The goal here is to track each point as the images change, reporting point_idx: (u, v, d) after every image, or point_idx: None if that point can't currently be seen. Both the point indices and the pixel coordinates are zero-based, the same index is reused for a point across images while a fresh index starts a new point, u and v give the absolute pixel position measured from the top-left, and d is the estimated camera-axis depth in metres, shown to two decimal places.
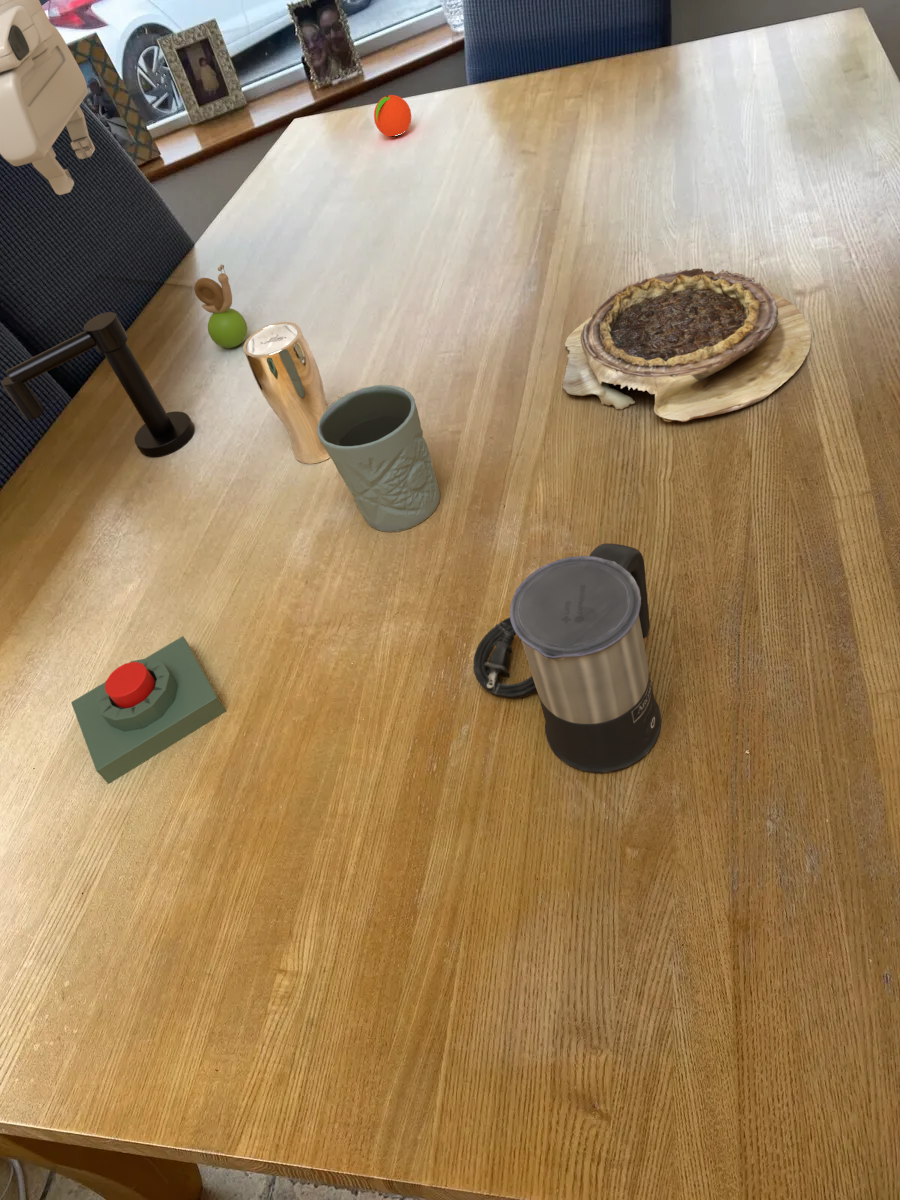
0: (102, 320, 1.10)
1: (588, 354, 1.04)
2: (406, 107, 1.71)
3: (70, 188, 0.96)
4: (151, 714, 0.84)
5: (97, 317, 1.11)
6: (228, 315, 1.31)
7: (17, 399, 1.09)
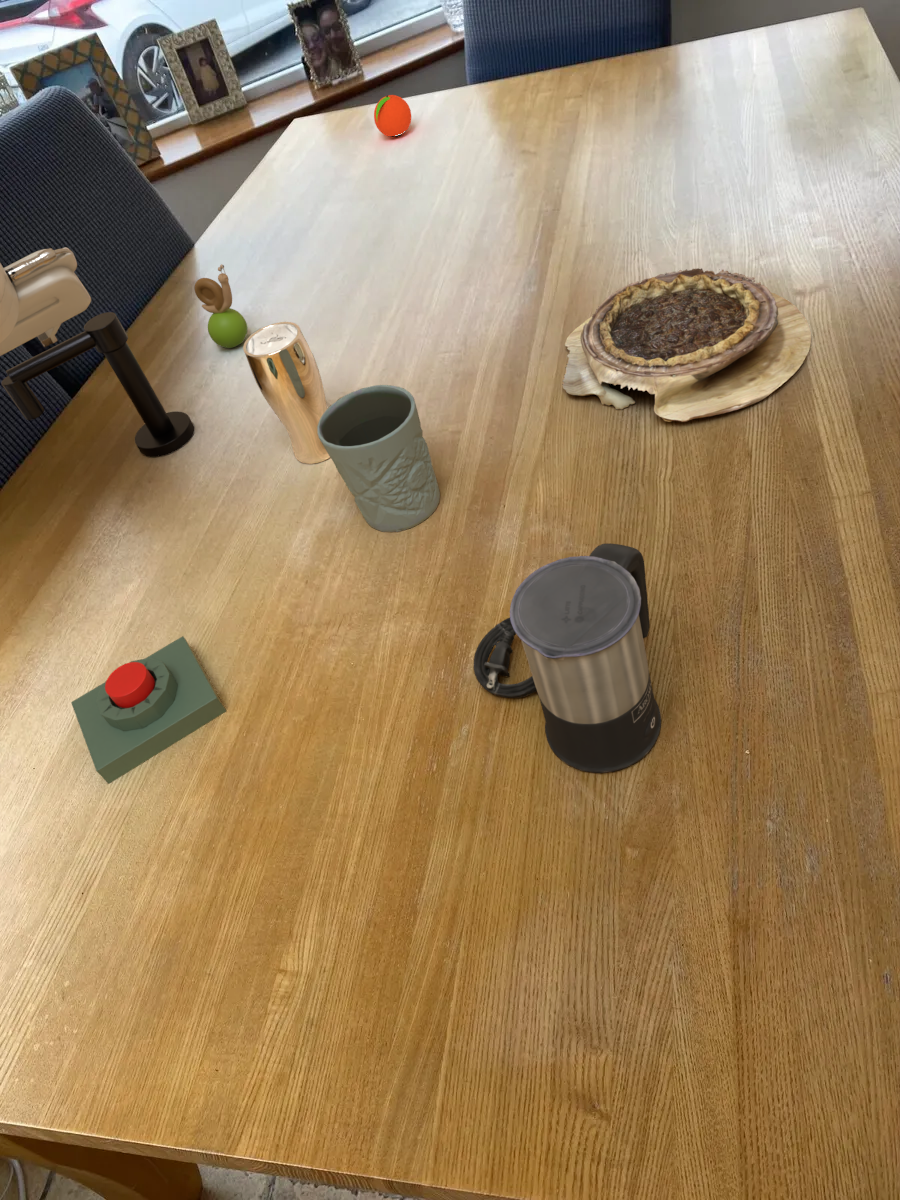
0: (102, 320, 1.10)
1: (588, 354, 1.04)
2: (406, 107, 1.71)
3: None
4: (151, 714, 0.84)
5: (97, 317, 1.11)
6: (228, 315, 1.31)
7: (17, 399, 1.09)
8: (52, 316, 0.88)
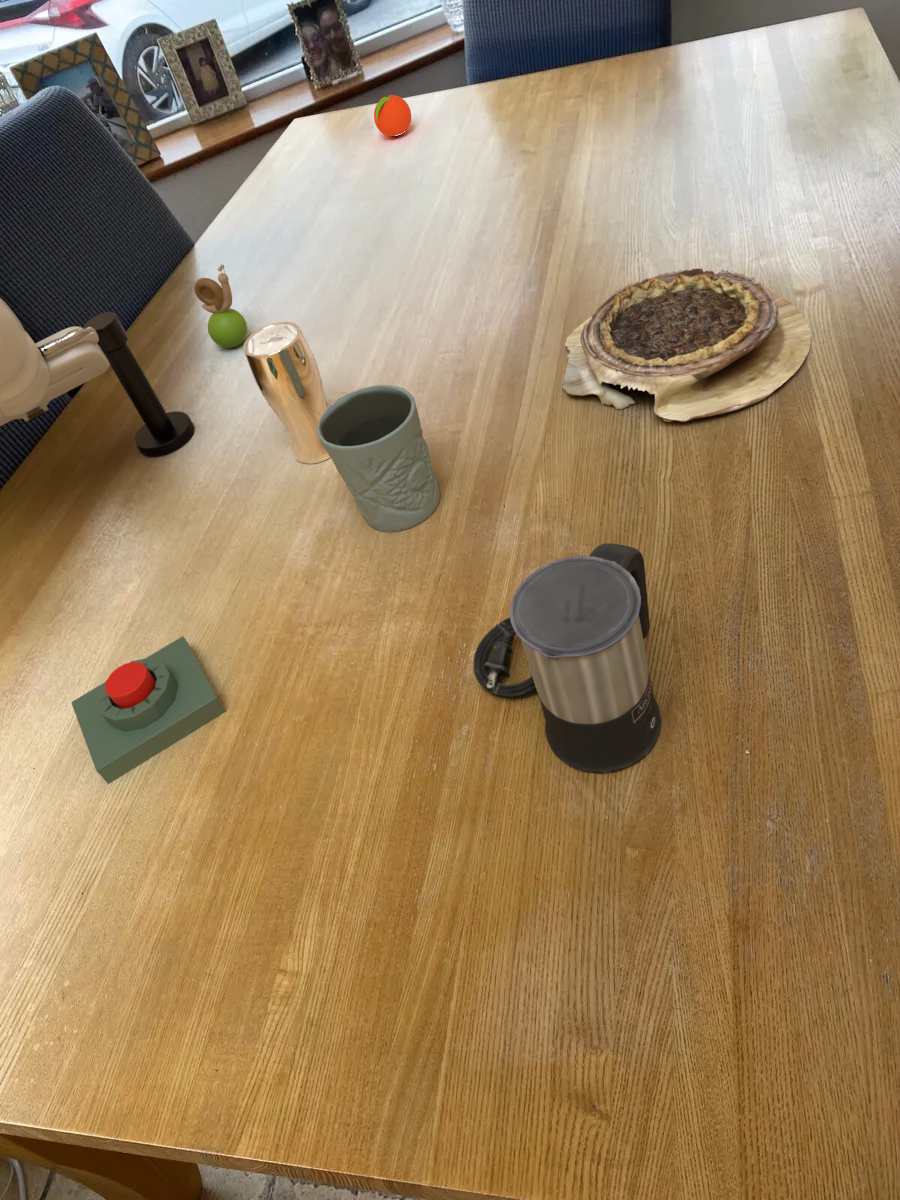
0: (102, 320, 1.10)
1: (588, 354, 1.04)
2: (406, 107, 1.71)
3: (26, 420, 1.09)
4: (151, 714, 0.84)
5: (97, 317, 1.11)
6: (229, 315, 1.31)
7: None
8: (76, 379, 1.04)
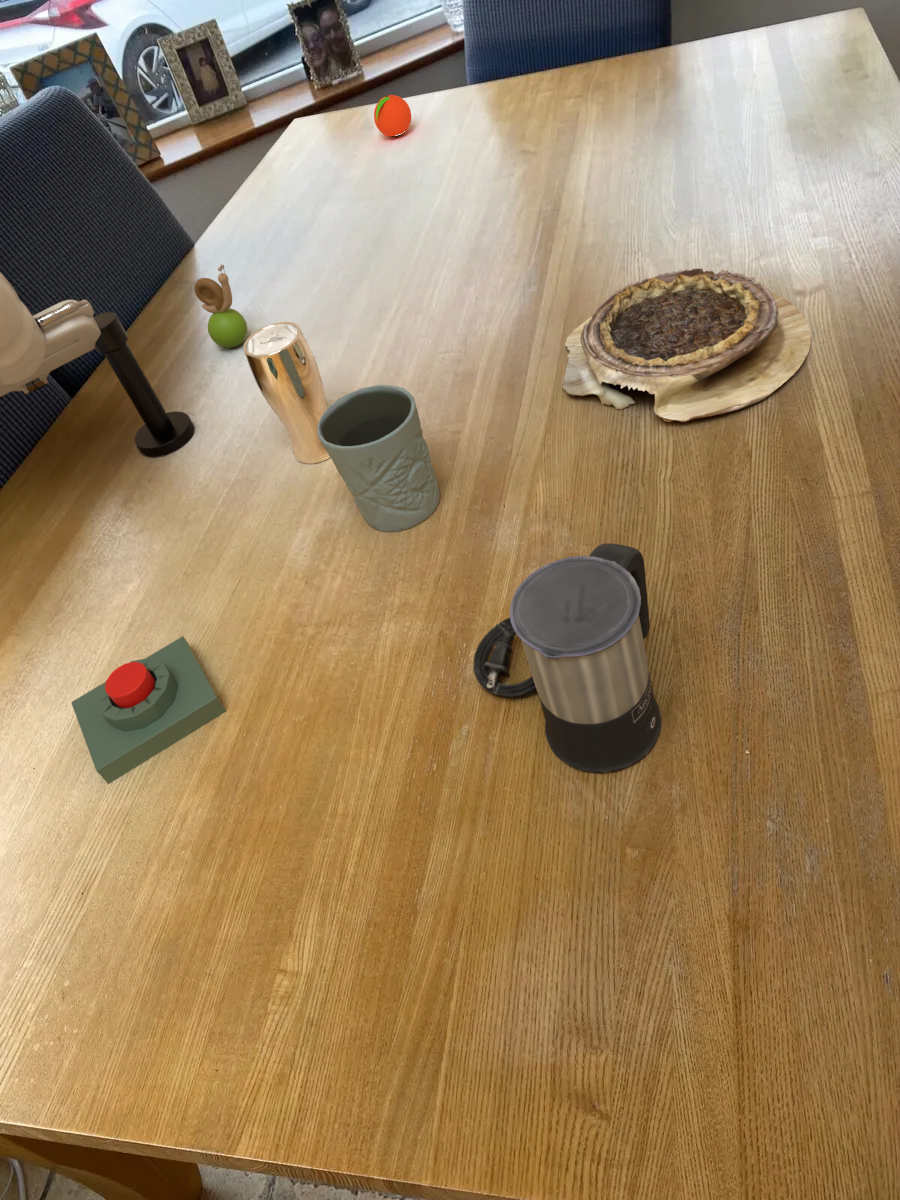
0: (101, 321, 1.10)
1: (588, 354, 1.04)
2: (406, 107, 1.71)
3: (25, 393, 1.14)
4: (151, 714, 0.84)
5: (103, 315, 1.11)
6: (228, 315, 1.31)
7: None
8: (73, 351, 1.09)
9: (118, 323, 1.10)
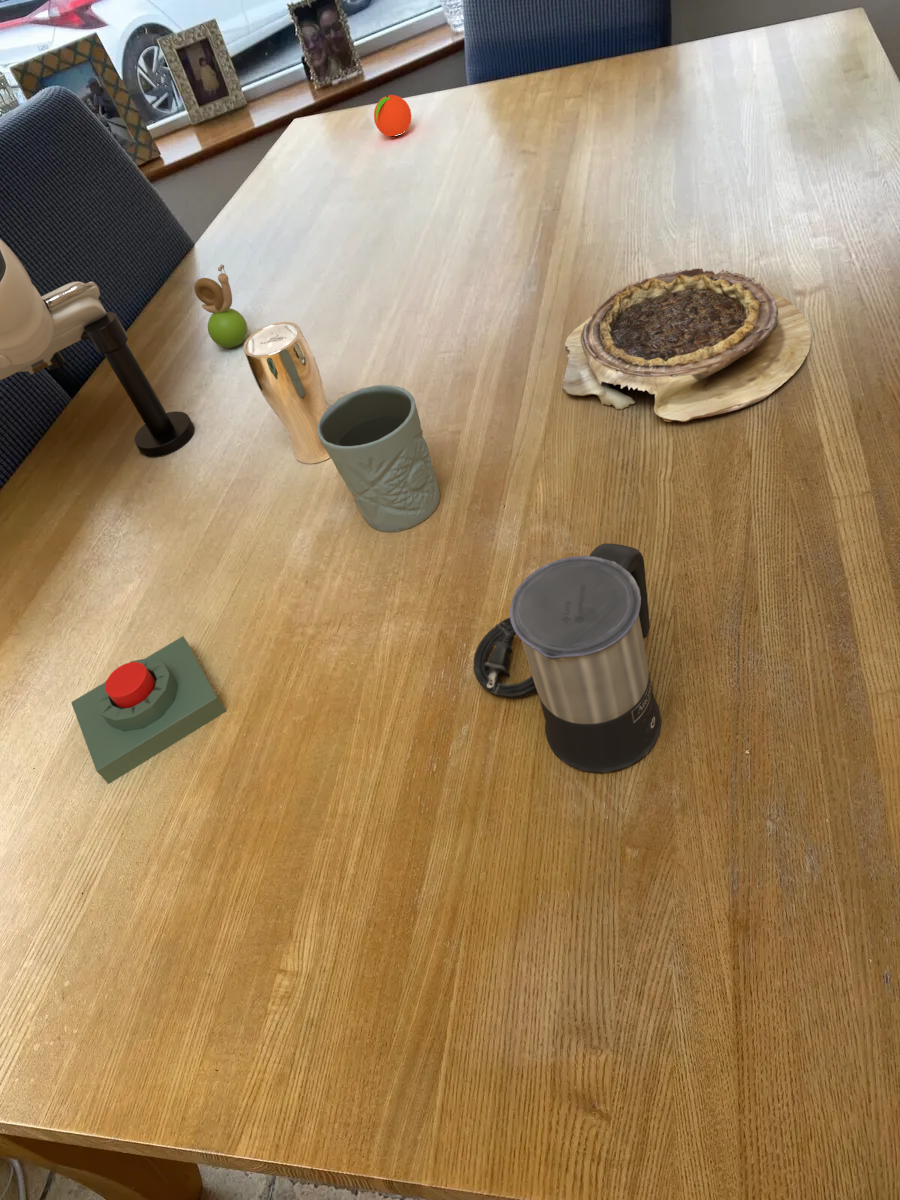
0: (100, 322, 1.10)
1: (588, 354, 1.04)
2: (406, 107, 1.71)
3: (31, 374, 1.16)
4: (151, 714, 0.84)
5: (107, 315, 1.11)
6: (229, 315, 1.31)
7: None
8: (78, 333, 1.11)
9: (115, 326, 1.10)
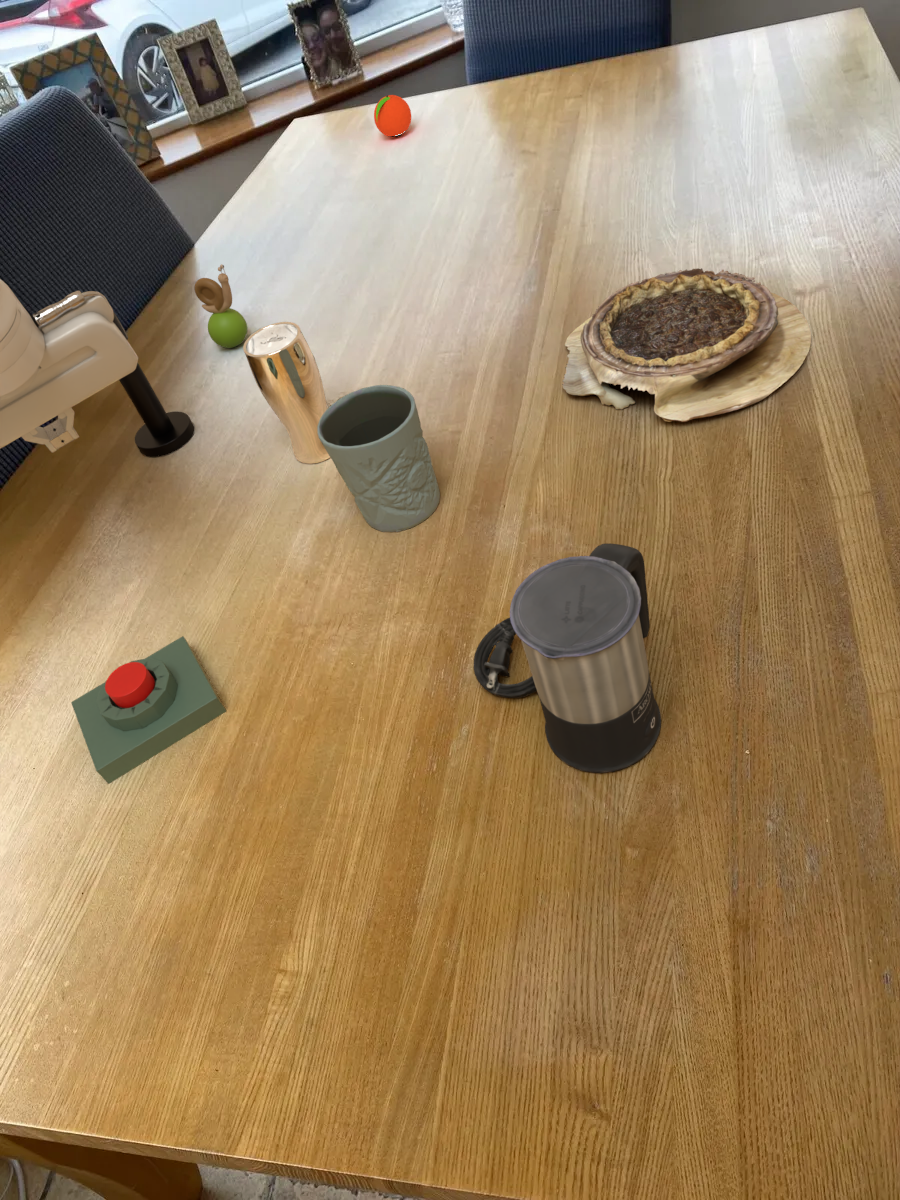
0: None
1: (588, 354, 1.04)
2: (406, 107, 1.71)
3: (52, 451, 0.88)
4: (151, 714, 0.84)
5: None
6: (228, 315, 1.31)
7: None
8: (94, 373, 0.83)
9: None
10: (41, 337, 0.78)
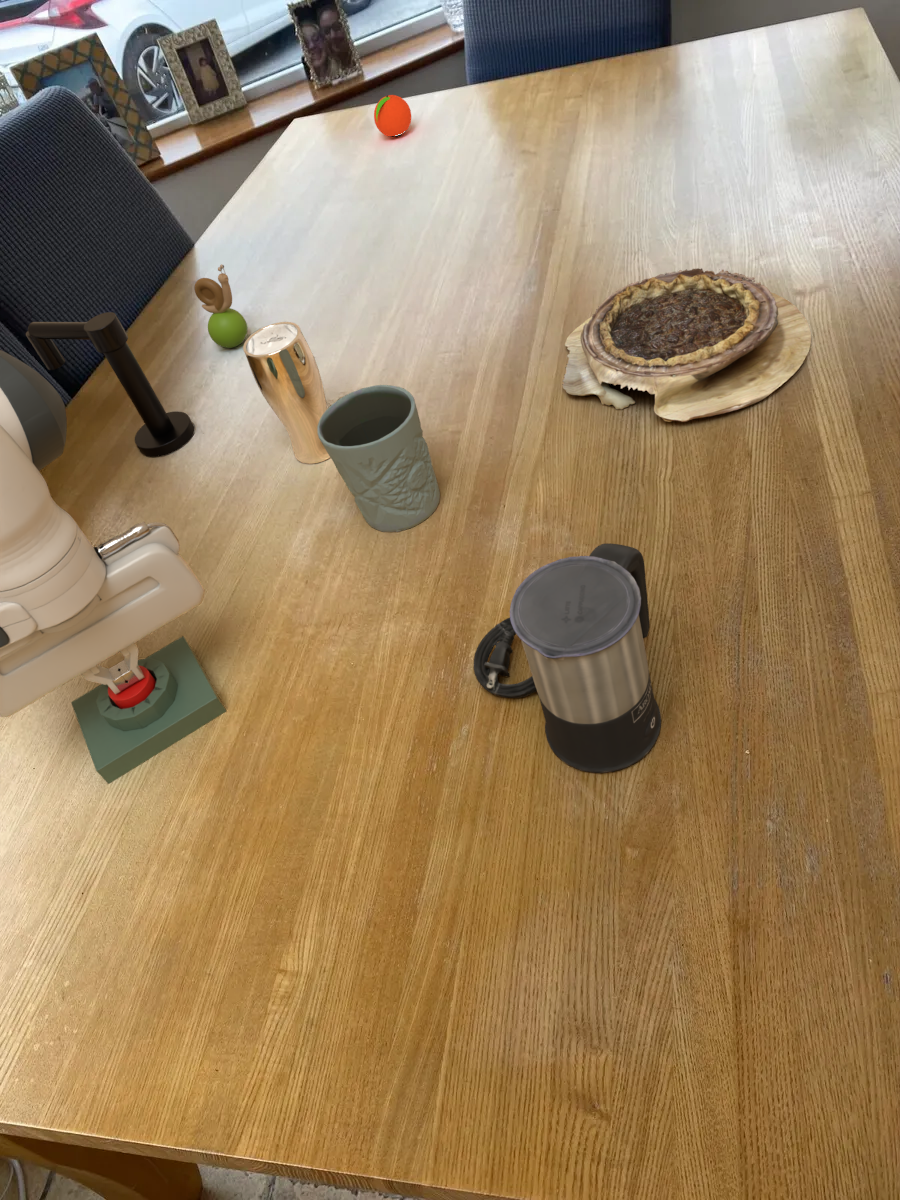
0: (100, 322, 1.10)
1: (588, 354, 1.04)
2: (406, 107, 1.71)
3: (115, 693, 0.84)
4: (151, 714, 0.84)
5: (107, 315, 1.11)
6: (228, 315, 1.31)
7: None
8: (157, 606, 0.80)
9: (115, 326, 1.10)
10: (102, 567, 0.76)
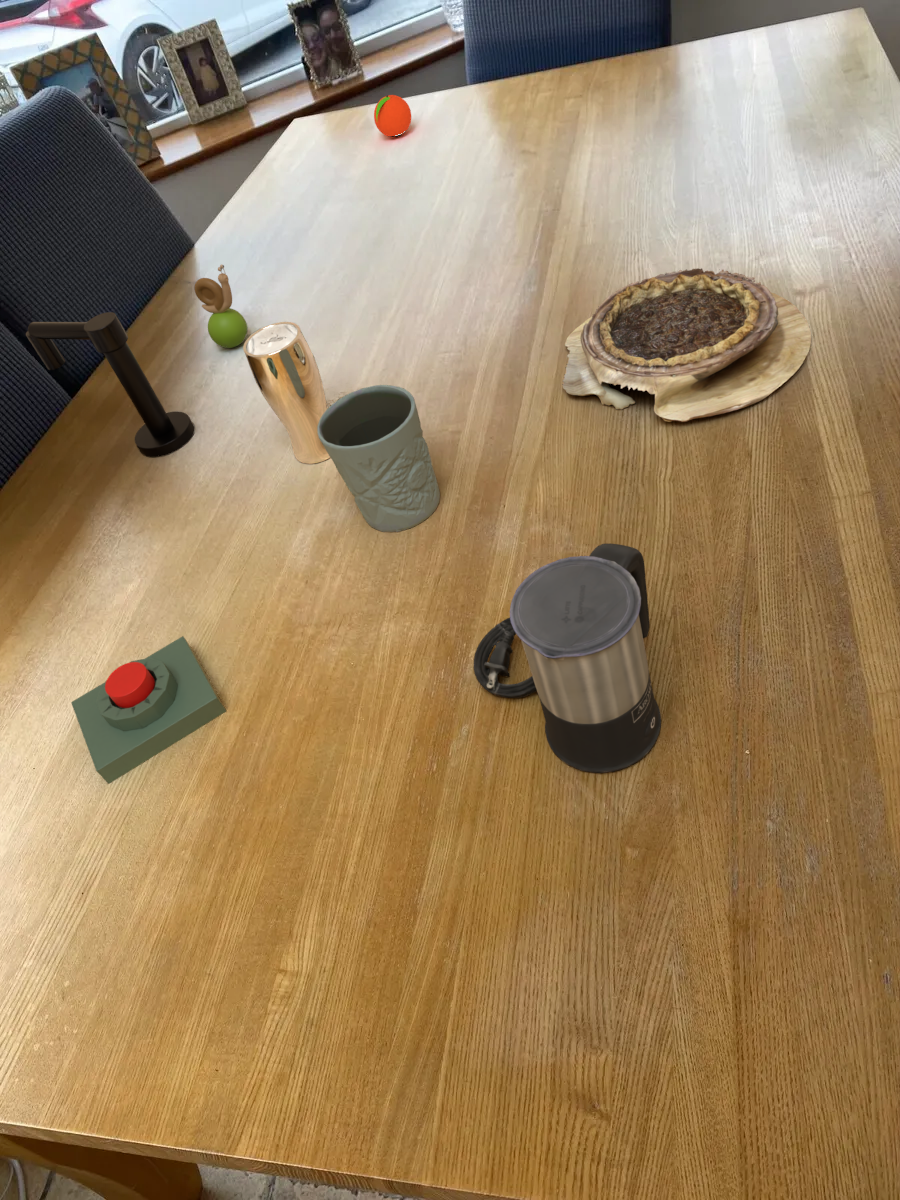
0: (100, 322, 1.10)
1: (588, 354, 1.04)
2: (406, 107, 1.71)
3: None
4: (151, 714, 0.84)
5: (107, 315, 1.11)
6: (228, 315, 1.31)
7: None
8: None
9: (115, 326, 1.10)
10: None
